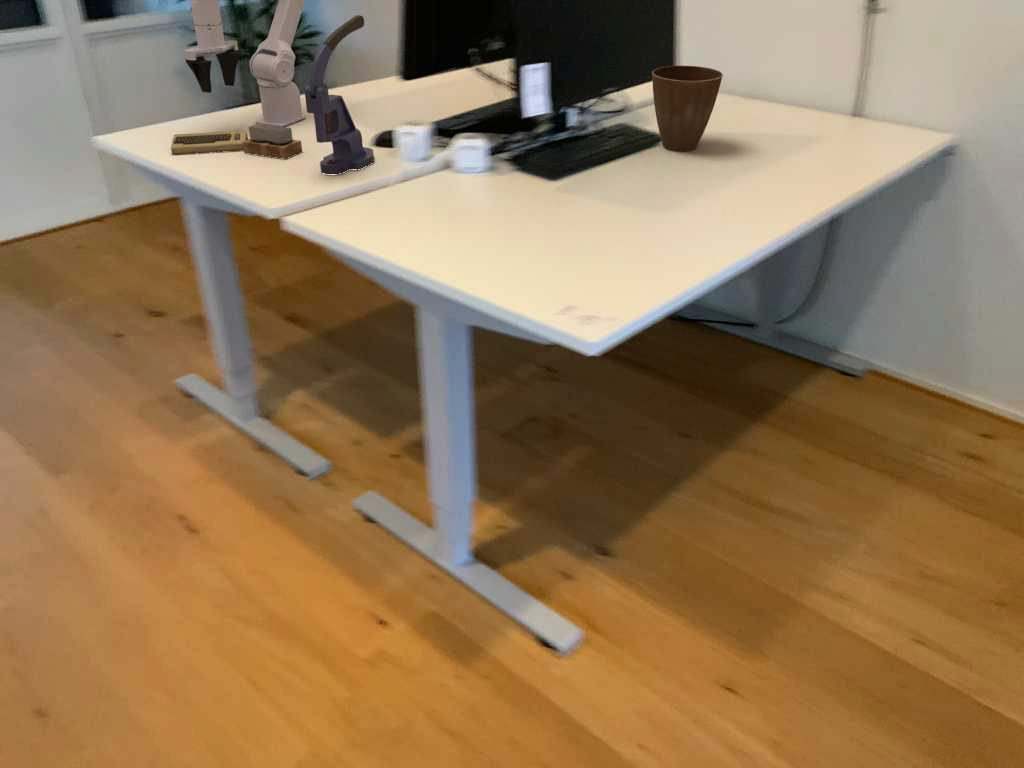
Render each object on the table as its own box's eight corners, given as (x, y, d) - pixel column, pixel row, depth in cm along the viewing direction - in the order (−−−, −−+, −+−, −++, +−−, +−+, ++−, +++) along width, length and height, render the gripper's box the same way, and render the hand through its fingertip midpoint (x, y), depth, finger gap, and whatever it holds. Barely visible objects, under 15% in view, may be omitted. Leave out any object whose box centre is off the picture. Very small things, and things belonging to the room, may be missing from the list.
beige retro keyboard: (172, 157, 184) (169, 142, 183) (176, 146, 191) (173, 132, 189) (247, 153, 187) (244, 137, 186) (248, 142, 194) (246, 128, 192)
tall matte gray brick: (261, 148, 189) (257, 123, 186) (294, 153, 186) (291, 128, 183) (252, 152, 187) (248, 126, 184) (286, 157, 183) (282, 131, 180)
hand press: (340, 180, 171) (324, 31, 156) (304, 174, 174) (285, 27, 159) (389, 155, 185) (379, 16, 170) (356, 149, 188) (343, 13, 173)
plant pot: (698, 160, 182) (708, 83, 174) (634, 150, 189) (640, 75, 180) (722, 144, 193) (732, 70, 185) (661, 134, 200) (668, 62, 191)
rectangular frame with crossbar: (261, 145, 190) (260, 134, 189) (302, 152, 187) (300, 140, 185) (244, 153, 186) (242, 141, 184) (285, 159, 182) (283, 148, 181)
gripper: (199, 30, 178) (210, 97, 185) (244, 21, 190) (253, 84, 197) (173, 27, 181) (185, 93, 188) (219, 18, 192) (229, 81, 199)
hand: (218, 88), depth 192 cm, fingers open, 7 cm apart
